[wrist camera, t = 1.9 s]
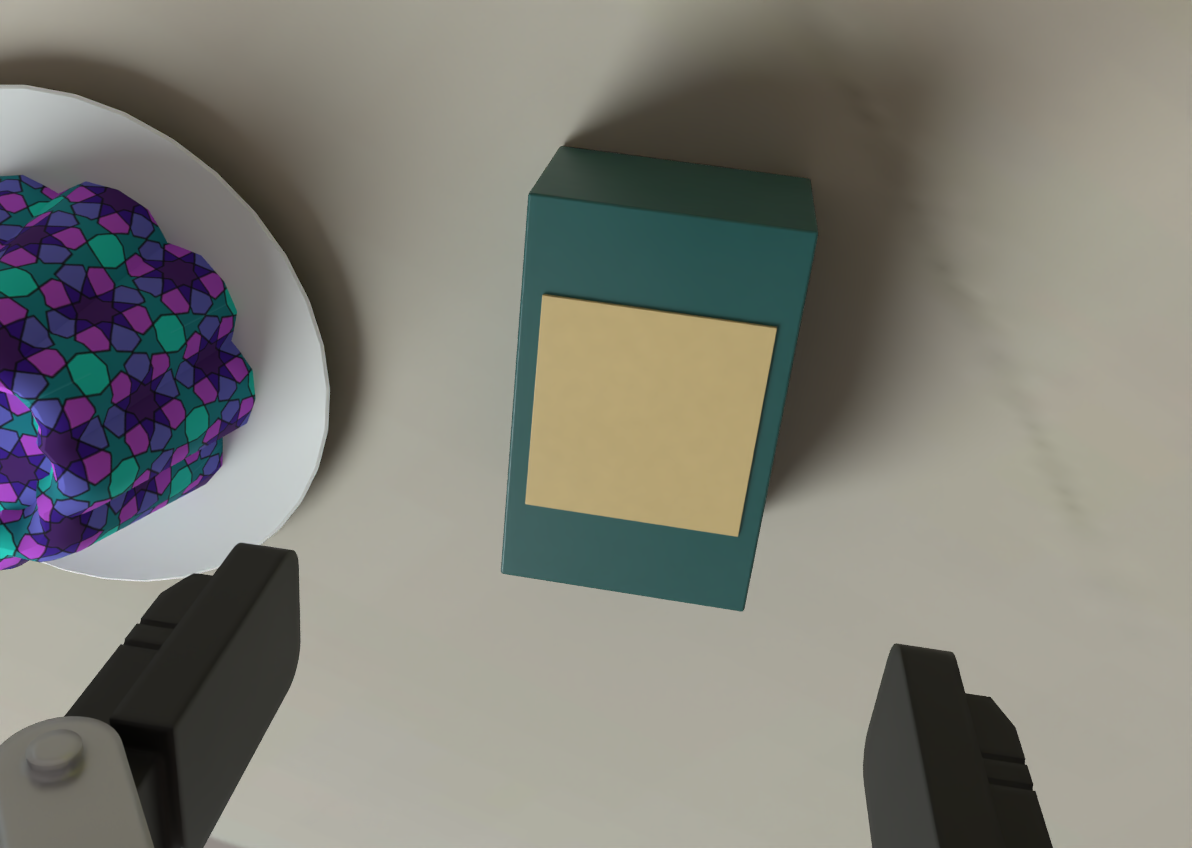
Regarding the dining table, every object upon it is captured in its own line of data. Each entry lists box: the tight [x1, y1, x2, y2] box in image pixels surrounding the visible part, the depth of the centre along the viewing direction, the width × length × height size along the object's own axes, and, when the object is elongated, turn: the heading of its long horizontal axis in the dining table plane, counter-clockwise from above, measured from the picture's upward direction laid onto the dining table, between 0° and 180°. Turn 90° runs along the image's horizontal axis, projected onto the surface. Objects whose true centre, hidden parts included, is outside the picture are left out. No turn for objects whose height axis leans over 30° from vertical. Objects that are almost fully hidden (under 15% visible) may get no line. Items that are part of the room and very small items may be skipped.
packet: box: [501, 146, 818, 611], centre depth 23 cm, size 5×8×4 cm, turn 174°
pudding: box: [0, 85, 330, 582], centre depth 24 cm, size 12×12×5 cm
